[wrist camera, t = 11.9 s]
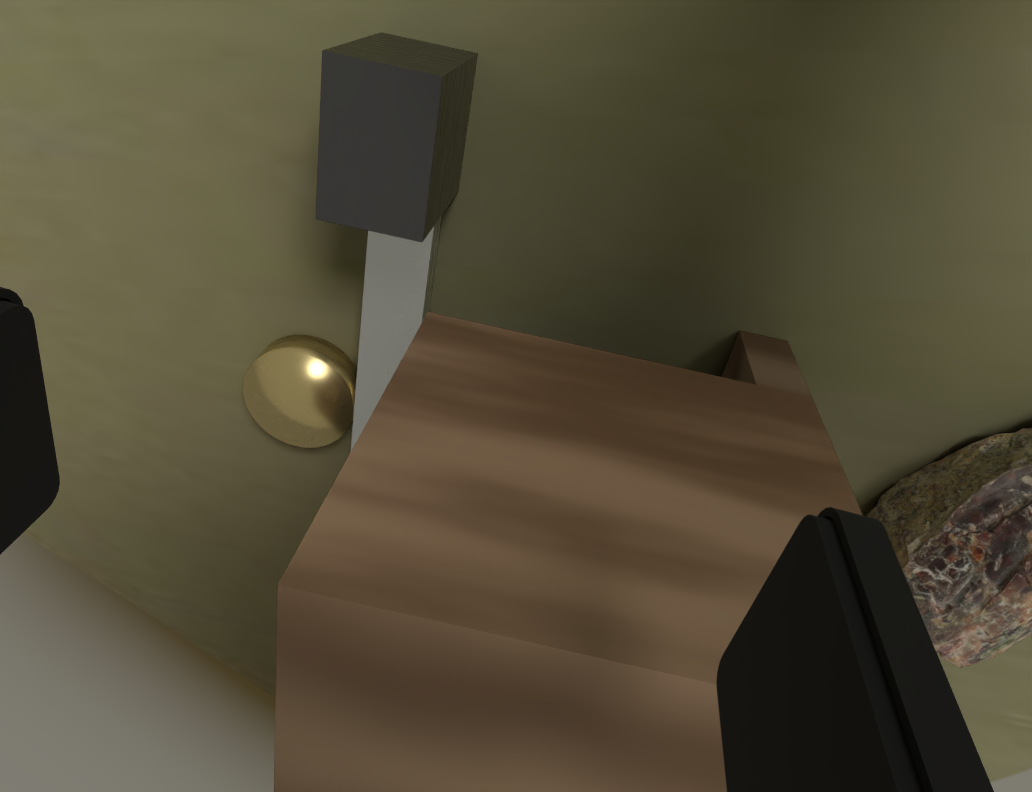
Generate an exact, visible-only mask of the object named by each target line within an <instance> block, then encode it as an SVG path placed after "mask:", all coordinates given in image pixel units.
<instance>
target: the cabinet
mask: <svg viewBox="0 0 1032 792" xmlns="http://www.w3.org/2000/svg"><path fill="white" fill-rule="evenodd" d="M828 507H833V508H836V509H840V510H844V511H848V512H851V513H855V514H859V515H862V513H861V510H860V508H859V506H858V503H857V501H856V499H855V496H854V494H853V492H852V489H851V487H850V485H849V482H848V480H847V478H846V475H845V473H844V471H843V469H842V466H841V464H840V462H839V459H838V457H837V455H836V452H835V450H834V448H833V445H832V443H831V441H830V438H829V436H828V434H827V432H826V429H825V427H824V425H823V422H822V420H821V418H820V415H819V413H818V411H817V408H816V406H815V404H814V401H813V399H812V397H811V394H810V392H809V390H808V388H807V385H806V383H805V381H804V378H803V376H802V374H801V371H800V369H799V367H798V364H797V362H796V360H795V357H794V355H793V353H792V351H791V348H790V346H789V344H788V341H785V340H780V339H776V338H771V337H767V336H762V335H758V334H753V333H748V332H744V331H739V333H738V335H737V338H736V341H735V343H734V346H733V348H732V351H731V354H730V356H729V359H728V362H727V364H726V367H725V369H724V372H723V375H722V377H719V376H715V375H710V374H706V373H701V372H697V371H692V370H687V369H683V368H678V367H674V366H669V365H665V364H660V363H656V362H651V361H647V360H642V359H638V358H633V357H629V356H624V355H620V354H615V353H611V352H606V351H602V350H597V349H593V348H588V347H584V346H579V345H575V344H570V343H566V342H561V341H557V340H552V339H548V338H543V337H539V336H534V335H530V334H525V333H521V332H516V331H512V330H507V329H503V328H498V327H494V326H489V325H485V324H480V323H476V322H471V321H467V320H462V319H458V318H453V317H448V316H444V315H439V314H435V313H430V312H428V313H427V314H426V316H425V318H424V320H423V322H422V324H421V325H420V327H419V329H418V331H417V333H416V334H415V336H414V338H413V340H412V342H411V344H410V345H409V347H408V349H407V351H406V353H405V354H404V356H403V358H402V360H401V362H400V363H399V365H398V367H397V369H396V371H395V373H394V374H393V376H392V378H391V380H390V382H389V383H388V385H387V387H386V389H385V391H384V393H383V394H382V396H381V398H380V400H379V402H378V403H377V405H376V407H375V409H374V411H373V413H372V414H371V416H370V418H369V420H368V422H367V423H366V425H365V427H364V429H363V431H362V433H361V434H360V436H359V438H358V440H357V442H356V443H355V445H354V447H353V449H352V451H351V452H350V454H349V456H348V458H347V460H346V462H345V463H344V465H343V467H342V469H341V471H340V472H339V474H338V476H337V478H336V480H335V482H334V483H333V485H332V487H331V489H330V491H329V492H328V494H327V496H326V498H325V500H324V502H323V503H322V505H321V507H320V509H319V511H318V512H317V514H316V516H315V518H314V520H313V521H312V523H311V525H310V527H309V529H308V531H307V532H306V534H305V536H304V538H303V540H302V541H301V543H300V545H299V547H298V549H297V551H296V552H295V554H294V556H293V558H292V560H291V561H290V563H289V565H288V567H287V569H286V571H285V572H284V574H283V576H282V578H281V580H280V581H279V583H278V588H277V646H276V705H275V762H274V763H275V765H274V792H727V787H726V777H725V767H724V757H723V747H722V737H721V727H720V717H719V707H718V697H717V685H716V680H717V671H718V666H719V663H720V660H721V657H722V655H723V653H724V652H725V650H726V648H727V647H728V645H729V643H730V641H731V640H732V638H733V636H734V634H735V633H736V631H737V629H738V628H739V626H740V624H741V622H742V621H743V619H744V617H745V616H746V614H747V612H748V610H749V609H750V607H751V605H752V604H753V602H754V600H755V598H756V597H757V595H758V593H759V592H760V590H761V588H762V586H763V585H764V583H765V581H766V580H767V578H768V576H769V574H770V573H771V571H772V569H773V567H774V566H775V564H776V562H777V561H778V559H779V557H780V555H781V554H782V552H783V550H784V549H785V547H786V545H787V543H788V542H789V540H790V538H791V537H792V535H793V533H794V531H795V530H796V528H797V526H798V525H799V523H800V522H801V520H802V519H803V518H804V517H805V516H806V515H814V516H818V515H819V513H820V512H821V511H822V510H824V509H825V508H828Z"/></svg>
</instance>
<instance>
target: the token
mask: <svg viewBox="0 0 1032 792" xmlns="http://www.w3.org/2000/svg"><path fill="white" fill-rule="evenodd" d="M356 378H357V368H356V367H355V365H354V364H353V362H352V361H351V360H350V358H349V357H348V356H347V355H346V354H345V353H344V352H343V351H341V350H340V349H339V348H338V347H336V346H335V345H333V344H331V343H329V342H327V341H325V340H323V339H320V338H317V337H314V336H309V335H290V336H286V337H282V338H280V339H278V340H276V341H274V342H273V343H271V344H270V345H269V346H268V347H267V348H266V349H265V350H264V351H263V352H262V354H261V355H260V356H259V357H258V358H257V359H256V360H255V361H254V362H253V363H252V365H251V366H250V367H249V369H248V370H247V372H246V374H245V377H244V381H243V396H244V400H245V404H246V406H247V408H248V411H249V412H250V414H251V416H252V417H253V418H254V420H255V421H256V422H257V423H258V425H259V426H260V427H261V428H262V429H264V430H265V431H266V432H267V433H269V434H270V435H271V436H273V437H275V438H276V439H278V440H280V441H282V442H284V443H287V444H290V445H293V446H298V447H304V448H316V447H322V446H326V445H328V444H331V443H333V442H335V441H336V440H338V439H339V438H340V437H342V435H343V434H344V433H345V432H346V431H347V429H348V427H349V426H350V424H351V422H352V421H353V416H354V404H355V391H356Z"/></svg>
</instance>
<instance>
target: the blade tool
mask: <svg viewBox="0 0 1032 792" xmlns="http://www.w3.org/2000/svg"><path fill="white" fill-rule="evenodd" d="M477 55H478V53H473V52H469V51H464V50H459V49H455V48H450V47H446V46H441V45H436V44H432V43H427V42H423V41H418V40H413V39H409V38H404V37H400V36H395V35H390V34H386V33H378V34H375V35H372V36H368V37H365V38H362V39H359V40H355V41H352V42H349V43H345V44H342V45H339V46H336V47H332V48H329V49H326V50H322V75H321V100H320V124H319V149H318V174H317V199H316V219H318V220H322V221H327V222H331V223H336V224H340V225H345V226H349V227H354V228H358V229H363V230H368V240H367V252H366V265H365V277H364V290H363V303H362V315H361V328H360V340H359V353H358V366H357V378H356V391H355V404H354V416H353V429H352V441H351V451H352V449H353V447H354V445H355V443H356V442H357V440H358V438H359V436H360V434H361V433H362V431H363V429H364V427H365V425H366V423H367V422H368V420H369V418H370V416H371V414H372V413H373V411H374V409H375V407H376V405H377V403H378V402H379V400H380V398H381V396H382V394H383V393H384V391H385V389H386V387H387V385H388V383H389V382H390V380H391V378H392V376H393V374H394V373H395V371H396V369H397V367H398V365H399V363H400V362H401V360H402V358H403V356H404V354H405V353H406V351H407V349H408V347H409V345H410V344H411V342H412V340H413V338H414V336H415V334H416V333H417V331H418V329H419V327H420V325H421V324H422V322H423V320H424V318H425V316H426V314H427V313H428V312H429V311H430V303H431V296H432V288H433V281H434V273H435V266H436V258H437V250H438V243H439V235H440V228H441V220H442V214H443V213H444V211H445V210H446V208H447V207H448V206H449V204H450V203H451V201H452V200H453V199H454V197H455V196H456V194H457V193H458V189H459V182H460V175H461V168H462V161H463V154H464V147H465V140H466V133H467V126H468V119H469V112H470V105H471V98H472V91H473V84H474V77H475V70H476V62H477Z"/></svg>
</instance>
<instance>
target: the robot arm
mask: <svg viewBox="0 0 1032 792" xmlns="http://www.w3.org/2000/svg"><path fill="white" fill-rule="evenodd" d="M59 484H60V480H59V472H58V466H57V459H56V453H55V447H54V441H53V434H52V428H51V422H50V416H49V410H48V403H47V397H46V391H45V385H44V379H43V372H42V366H41V360H40V354H39V348H38V341H37V335H36V329H35V323H34V318H33V315H32V313H31V312H30V310H29V309H28V308H26V307H24V306H23V303H22V300H21V299H20V297H19V296H18V295H17V293H15V292H13V291H11V290H10V289H6V288H2V287H0V554H1V553H2V552H3V551H4V550H5V549H6V548H7V547H8V546H9V545H10V544H12V543H13V542H14V541H15V540H16V539H17V538H18V537H19V536H20V535H21V534H22V533H23V532H24V531H25V530H26V529H27V528H28V527H29V526H30V525H31V524H32V523H33V522H35V521H36V520H37V519H38V518H39V517H40V516H41V515H42V514H43V513H44V512H45V511H46V510H47V509H48V508H49V507H50V505H51V504H52V503H53V501H54V499H55V497H56V495H57V492H58V489H59ZM716 685H717V697H718V707H719V717H720V727H721V737H722V747H723V757H724V767H725V777H726V787H727V792H994V791H993V788H992V786H991V784H990V781H989V779H988V776H987V774H986V771H985V769H984V767H983V764H982V762H981V759H980V757H979V755H978V752H977V750H976V747H975V745H974V742H973V740H972V738H971V735H970V733H969V730H968V728H967V725H966V723H965V721H964V718H963V716H962V713H961V711H960V709H959V706H958V704H957V701H956V699H955V696H954V694H953V692H952V689H951V687H950V684H949V682H948V679H947V677H946V675H945V672H944V670H943V667H942V665H941V662H940V660H939V658H938V655H937V653H936V650H935V648H934V646H933V643H932V641H931V638H930V636H929V633H928V631H927V629H926V626H925V624H924V621H923V619H922V616H921V614H920V612H919V609H918V607H917V604H916V602H915V600H914V597H913V595H912V592H911V590H910V587H909V585H908V583H907V580H906V578H905V575H904V573H903V570H902V568H901V566H900V563H899V561H898V558H897V556H896V554H895V551H894V549H893V546H892V544H891V541H890V539H889V537H888V534H887V532H886V529H885V527H884V526H883V524H882V523H881V522H880V521H878V520H877V519H874V518H870V517H867V516H863V515H859V514H855V513H851V512H848V511H844V510H840V509H836V508H833V507H828V508H825V509H824V510H822V511H821V512H820V513H819V515H818V516H814V515H806V516H805V517H804V518H803V519H802V520H801V522H800V523H799V525H798V526H797V528H796V530H795V531H794V533H793V535H792V537H791V538H790V540H789V542H788V543H787V545H786V547H785V549H784V550H783V552H782V554H781V555H780V557H779V559H778V561H777V562H776V564H775V566H774V567H773V569H772V571H771V573H770V574H769V576H768V578H767V580H766V581H765V583H764V585H763V586H762V588H761V590H760V592H759V593H758V595H757V597H756V598H755V600H754V602H753V604H752V605H751V607H750V609H749V610H748V612H747V614H746V616H745V617H744V619H743V621H742V622H741V624H740V626H739V628H738V629H737V631H736V633H735V634H734V636H733V638H732V640H731V641H730V643H729V645H728V647H727V648H726V650H725V652H724V653H723V655H722V657H721V660H720V663H719V666H718V671H717V680H716Z"/></svg>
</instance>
